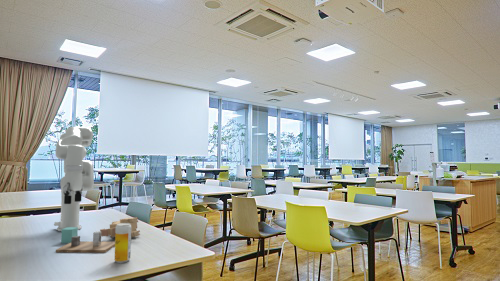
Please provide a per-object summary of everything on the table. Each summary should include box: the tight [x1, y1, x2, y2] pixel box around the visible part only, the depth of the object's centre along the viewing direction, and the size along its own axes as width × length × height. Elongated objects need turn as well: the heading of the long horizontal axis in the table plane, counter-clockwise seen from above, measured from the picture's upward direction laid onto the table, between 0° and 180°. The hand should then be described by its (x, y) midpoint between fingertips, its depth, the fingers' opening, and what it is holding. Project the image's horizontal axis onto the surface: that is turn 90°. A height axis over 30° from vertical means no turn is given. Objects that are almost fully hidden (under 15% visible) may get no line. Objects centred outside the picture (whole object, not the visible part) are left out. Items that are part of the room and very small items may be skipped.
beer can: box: [114, 223, 132, 264], centre depth 129 cm, size 6×6×15 cm
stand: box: [55, 235, 115, 254], centre depth 147 cm, size 22×14×5 cm, turn 91°
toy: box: [99, 217, 141, 238], centre depth 167 cm, size 10×20×20 cm
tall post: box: [92, 230, 102, 246], centre depth 147 cm, size 3×3×6 cm
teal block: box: [60, 227, 79, 244], centre depth 158 cm, size 5×5×7 cm
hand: (72, 202), depth 159 cm, fingers open, 9 cm apart
